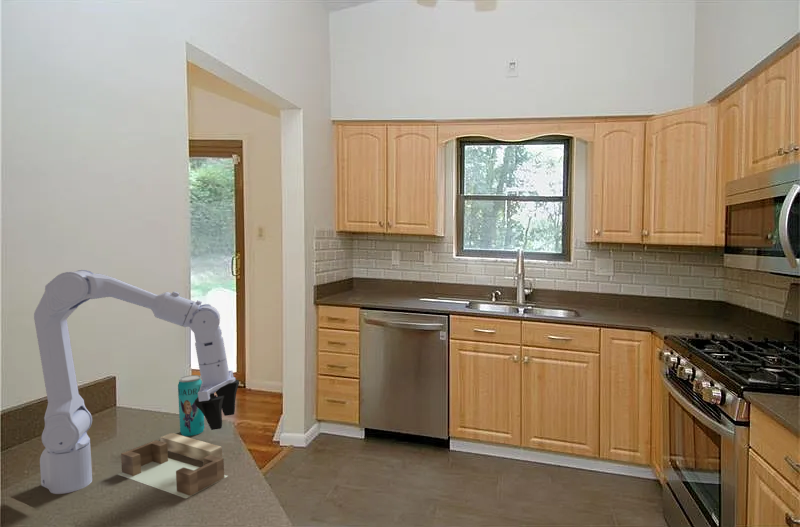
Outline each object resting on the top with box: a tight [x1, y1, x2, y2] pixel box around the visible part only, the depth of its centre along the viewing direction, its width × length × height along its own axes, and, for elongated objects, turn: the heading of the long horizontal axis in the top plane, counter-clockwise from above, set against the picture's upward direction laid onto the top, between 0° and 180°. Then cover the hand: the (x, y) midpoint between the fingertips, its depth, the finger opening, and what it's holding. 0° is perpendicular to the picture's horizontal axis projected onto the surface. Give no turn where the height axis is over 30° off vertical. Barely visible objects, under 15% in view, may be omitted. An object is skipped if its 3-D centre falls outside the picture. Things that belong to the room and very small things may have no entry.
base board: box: [116, 457, 229, 499], centre depth 103 cm, size 22×10×1 cm, turn 60°
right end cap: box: [176, 455, 225, 497], centre depth 99 cm, size 4×8×4 cm, turn 150°
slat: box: [159, 432, 223, 462], centre depth 114 cm, size 18×3×4 cm, turn 59°
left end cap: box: [120, 439, 169, 476], centre depth 108 cm, size 4×8×4 cm, turn 150°
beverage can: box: [177, 374, 205, 437], centre depth 127 cm, size 6×6×15 cm
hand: (223, 421), depth 109 cm, fingers open, 7 cm apart
